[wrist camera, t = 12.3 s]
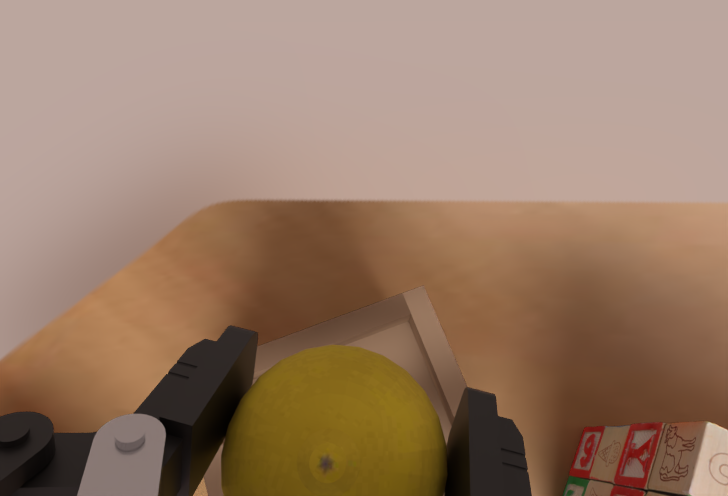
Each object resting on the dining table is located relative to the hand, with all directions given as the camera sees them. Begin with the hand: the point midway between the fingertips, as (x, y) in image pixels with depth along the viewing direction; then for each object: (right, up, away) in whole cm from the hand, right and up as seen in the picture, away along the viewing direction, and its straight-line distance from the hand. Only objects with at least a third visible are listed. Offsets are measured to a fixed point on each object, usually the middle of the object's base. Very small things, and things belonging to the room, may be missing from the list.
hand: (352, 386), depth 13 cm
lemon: (0, -3, +4) cm, 5 cm away
